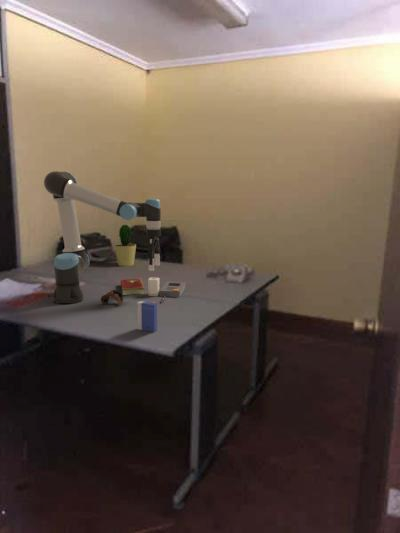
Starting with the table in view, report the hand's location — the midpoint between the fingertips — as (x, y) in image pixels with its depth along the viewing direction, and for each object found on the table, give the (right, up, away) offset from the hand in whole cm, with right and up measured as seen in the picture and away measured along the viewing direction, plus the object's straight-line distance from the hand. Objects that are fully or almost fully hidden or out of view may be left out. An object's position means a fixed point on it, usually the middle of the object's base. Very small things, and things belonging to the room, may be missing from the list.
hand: (154, 268), depth 211 cm
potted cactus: (-30, +2, +78) cm, 84 cm away
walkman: (+3, -26, -47) cm, 54 cm away
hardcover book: (-14, -13, +13) cm, 23 cm away
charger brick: (-1, -15, +3) cm, 15 cm away
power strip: (+9, -15, +4) cm, 17 cm away
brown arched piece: (-20, -19, -15) cm, 31 cm away
